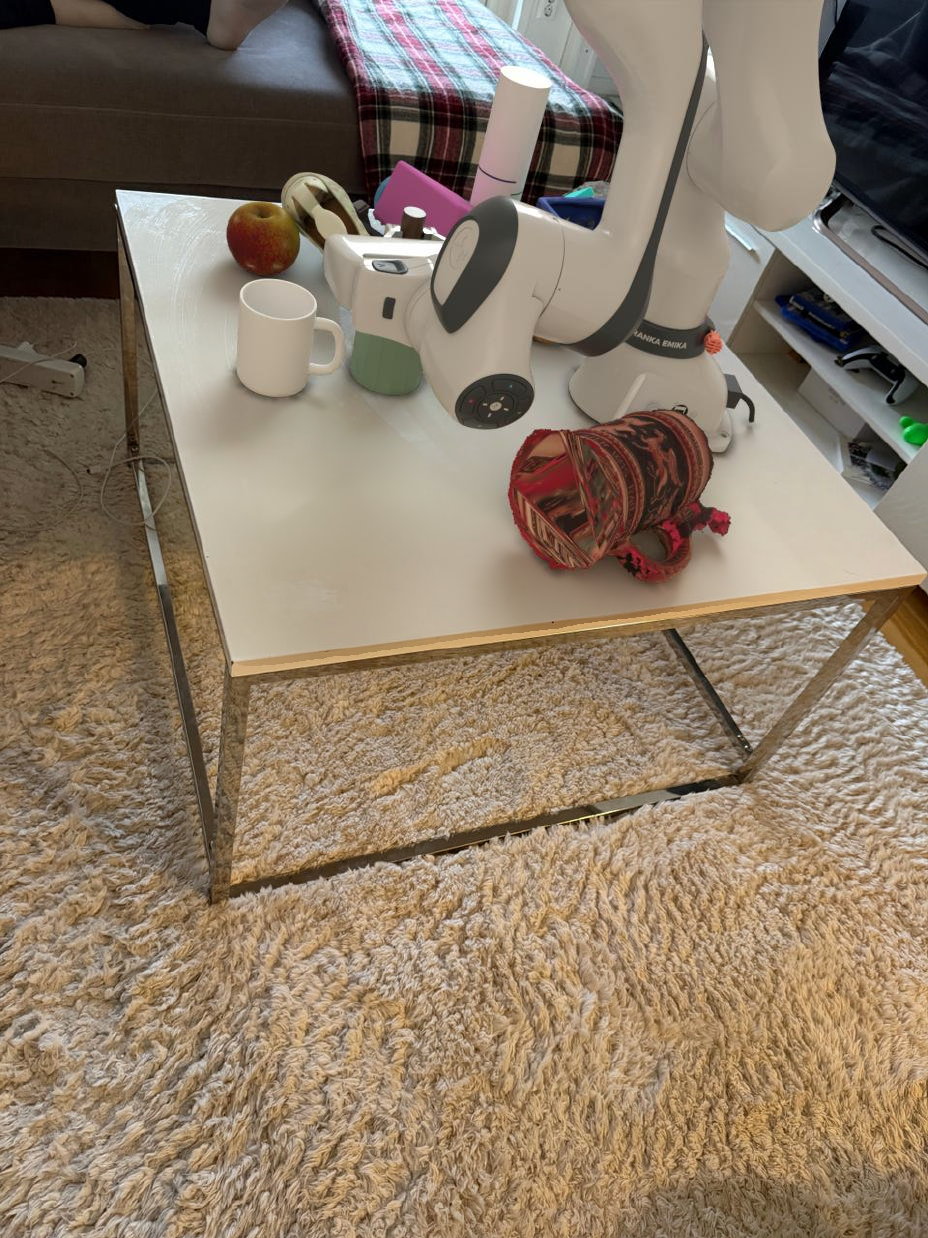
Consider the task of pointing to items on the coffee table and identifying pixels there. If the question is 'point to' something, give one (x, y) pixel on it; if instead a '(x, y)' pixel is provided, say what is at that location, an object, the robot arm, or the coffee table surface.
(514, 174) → the cylindrical container
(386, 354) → the lunch tin
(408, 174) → the toy
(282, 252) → the fruit
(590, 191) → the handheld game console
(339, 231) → the ballet flat
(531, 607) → the coffee table surface
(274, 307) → the cup
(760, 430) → the coffee table surface
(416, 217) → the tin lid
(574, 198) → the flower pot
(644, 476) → the red woven bag
